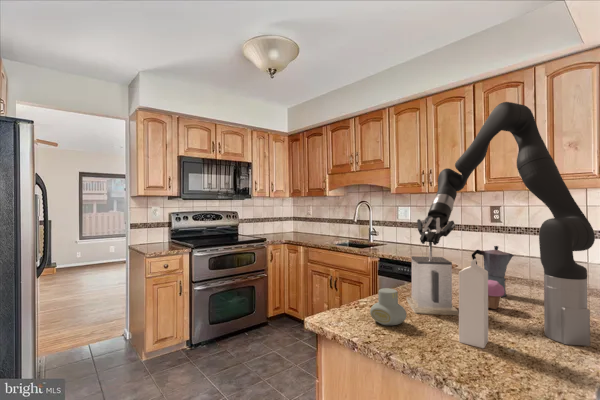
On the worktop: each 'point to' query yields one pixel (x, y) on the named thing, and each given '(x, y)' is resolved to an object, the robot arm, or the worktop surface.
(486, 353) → the worktop surface
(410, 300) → the arcade joystick
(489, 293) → the cupcake
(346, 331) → the worktop surface
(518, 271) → the worktop surface
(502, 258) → the moka pot
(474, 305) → the milk
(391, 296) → the air freshener
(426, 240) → the joystick lever
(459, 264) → the worktop surface
